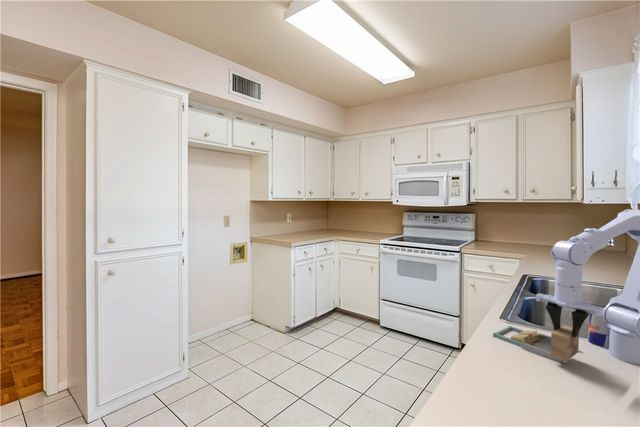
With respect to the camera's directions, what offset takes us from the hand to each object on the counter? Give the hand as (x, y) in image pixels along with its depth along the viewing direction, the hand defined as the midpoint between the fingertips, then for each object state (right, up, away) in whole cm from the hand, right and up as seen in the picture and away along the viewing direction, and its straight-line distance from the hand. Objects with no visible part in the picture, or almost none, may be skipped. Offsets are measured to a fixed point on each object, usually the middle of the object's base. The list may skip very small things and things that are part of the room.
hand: (565, 333), depth 86 cm
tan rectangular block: (0, -6, 0) cm, 6 cm away
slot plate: (+1, -9, +7) cm, 12 cm away
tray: (-4, -9, +15) cm, 18 cm away
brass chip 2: (0, -8, +14) cm, 16 cm away
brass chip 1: (-5, -8, +11) cm, 14 cm away
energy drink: (+20, -9, +12) cm, 25 cm away
